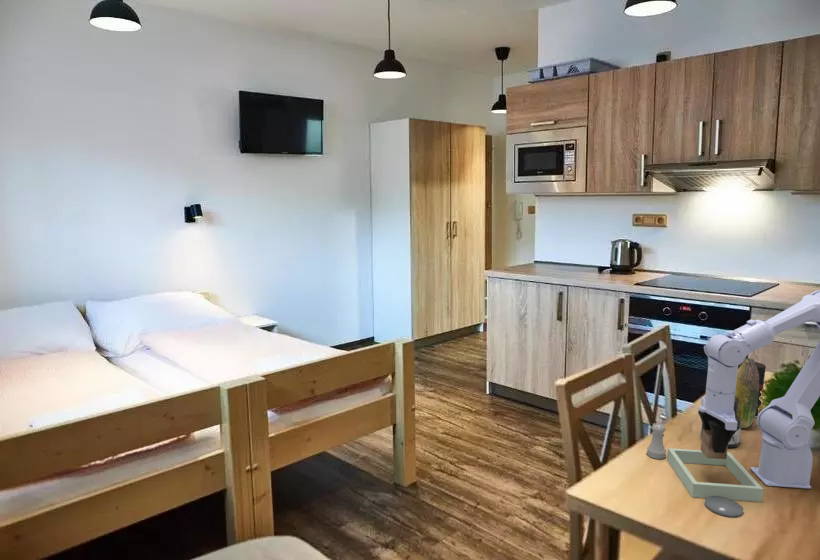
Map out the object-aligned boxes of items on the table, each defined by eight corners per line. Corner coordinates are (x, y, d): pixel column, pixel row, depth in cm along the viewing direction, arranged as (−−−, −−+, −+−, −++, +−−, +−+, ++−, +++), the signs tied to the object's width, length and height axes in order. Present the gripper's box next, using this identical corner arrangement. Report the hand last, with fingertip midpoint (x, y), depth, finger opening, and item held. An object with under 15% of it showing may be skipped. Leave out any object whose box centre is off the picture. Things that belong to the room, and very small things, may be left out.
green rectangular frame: (728, 463, 138) (729, 452, 138) (761, 502, 122) (763, 488, 121) (667, 459, 140) (668, 448, 139) (692, 497, 123) (693, 484, 123)
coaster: (734, 500, 122) (734, 497, 122) (749, 518, 115) (749, 516, 115) (699, 497, 123) (699, 494, 123) (712, 515, 116) (712, 513, 116)
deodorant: (764, 417, 166) (770, 367, 164) (743, 417, 166) (749, 367, 164) (752, 409, 172) (758, 361, 170) (732, 409, 172) (737, 361, 170)
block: (719, 451, 132) (721, 430, 131) (726, 459, 128) (728, 437, 127) (700, 450, 132) (702, 429, 131) (707, 458, 128) (709, 436, 127)
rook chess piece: (667, 460, 140) (670, 429, 138) (648, 458, 140) (650, 427, 139) (663, 452, 144) (666, 422, 143) (644, 450, 145) (647, 420, 143)
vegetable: (723, 423, 162) (731, 354, 159) (739, 420, 164) (747, 352, 161) (743, 432, 156) (751, 361, 153) (759, 428, 159) (767, 358, 155)
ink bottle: (705, 447, 147) (709, 402, 145) (694, 432, 156) (698, 390, 154) (746, 450, 146) (751, 405, 144) (732, 435, 154) (737, 392, 152)
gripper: (689, 377, 135) (684, 432, 137) (714, 400, 121) (708, 461, 123) (721, 379, 134) (716, 434, 136) (750, 402, 120) (743, 463, 122)
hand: (714, 447), depth 130 cm, fingers closed on block, 4 cm apart
